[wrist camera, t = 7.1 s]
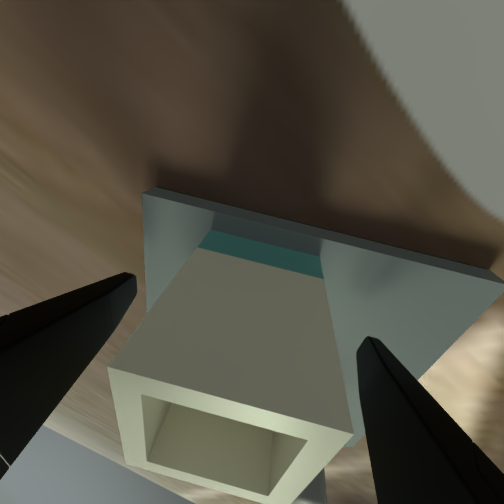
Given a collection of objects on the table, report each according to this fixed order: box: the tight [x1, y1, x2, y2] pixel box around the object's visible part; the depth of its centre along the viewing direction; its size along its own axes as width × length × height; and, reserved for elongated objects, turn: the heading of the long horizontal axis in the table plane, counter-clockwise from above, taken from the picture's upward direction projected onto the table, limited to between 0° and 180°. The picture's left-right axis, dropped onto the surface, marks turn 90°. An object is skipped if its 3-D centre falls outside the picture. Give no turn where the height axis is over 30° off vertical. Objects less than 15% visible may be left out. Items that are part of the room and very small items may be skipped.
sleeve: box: [107, 230, 354, 504], centre depth 8 cm, size 4×4×6 cm
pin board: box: [142, 187, 504, 504], centre depth 11 cm, size 14×14×5 cm
